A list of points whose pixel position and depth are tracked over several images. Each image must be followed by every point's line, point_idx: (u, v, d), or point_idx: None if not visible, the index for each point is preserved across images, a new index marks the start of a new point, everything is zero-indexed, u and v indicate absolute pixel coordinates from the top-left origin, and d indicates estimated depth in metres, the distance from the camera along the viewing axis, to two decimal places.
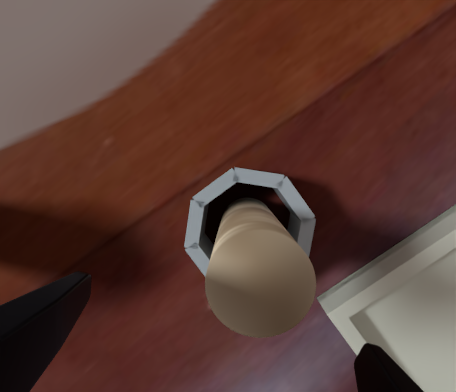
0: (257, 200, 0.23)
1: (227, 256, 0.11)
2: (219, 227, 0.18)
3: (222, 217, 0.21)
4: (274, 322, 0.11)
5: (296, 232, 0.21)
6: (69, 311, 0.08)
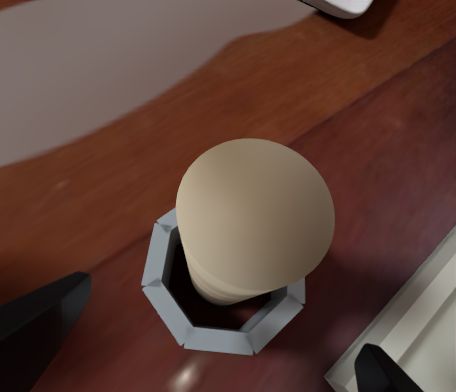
0: None
1: (208, 168, 0.08)
2: None
3: None
4: (286, 261, 0.07)
5: None
6: (69, 311, 0.08)
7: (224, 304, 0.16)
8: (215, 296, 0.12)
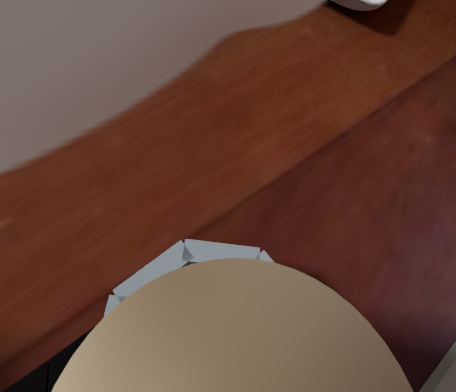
0: None
1: (123, 351, 0.03)
2: None
3: None
4: None
5: None
6: None
7: None
8: None
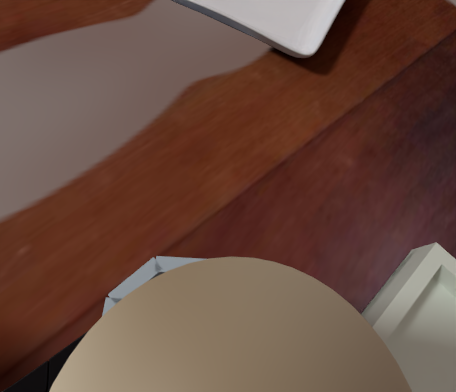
0: None
1: (121, 350, 0.03)
2: None
3: None
4: None
5: None
6: None
7: None
8: None
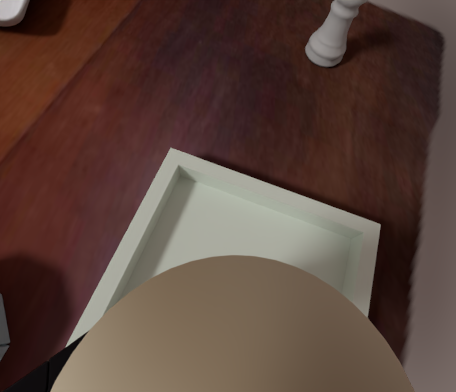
0: None
1: (124, 348, 0.03)
2: None
3: None
4: None
5: None
6: None
7: None
8: None
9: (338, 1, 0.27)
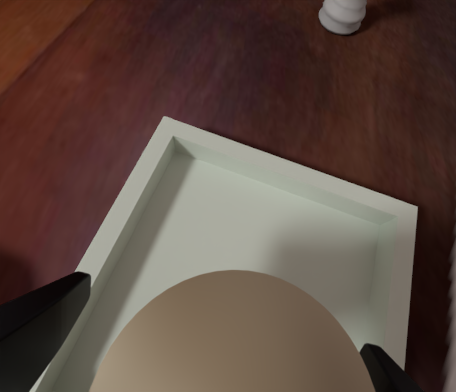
0: None
1: (150, 341, 0.04)
2: None
3: None
4: None
5: None
6: (69, 311, 0.08)
7: None
8: None
9: None
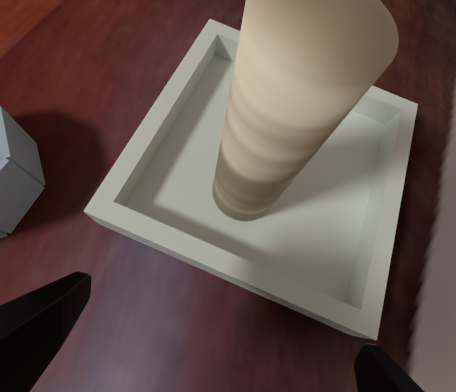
0: None
1: None
2: None
3: None
4: (353, 63, 0.07)
5: None
6: (69, 311, 0.08)
7: (248, 209, 0.17)
8: (252, 170, 0.12)
9: None
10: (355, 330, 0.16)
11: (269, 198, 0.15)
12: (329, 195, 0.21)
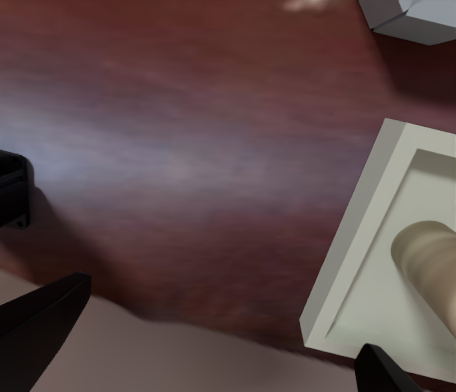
0: None
1: None
2: None
3: None
4: None
5: None
6: (69, 311, 0.08)
7: (407, 268, 0.19)
8: None
9: None
10: (310, 334, 0.22)
11: (423, 297, 0.17)
12: (416, 315, 0.23)
